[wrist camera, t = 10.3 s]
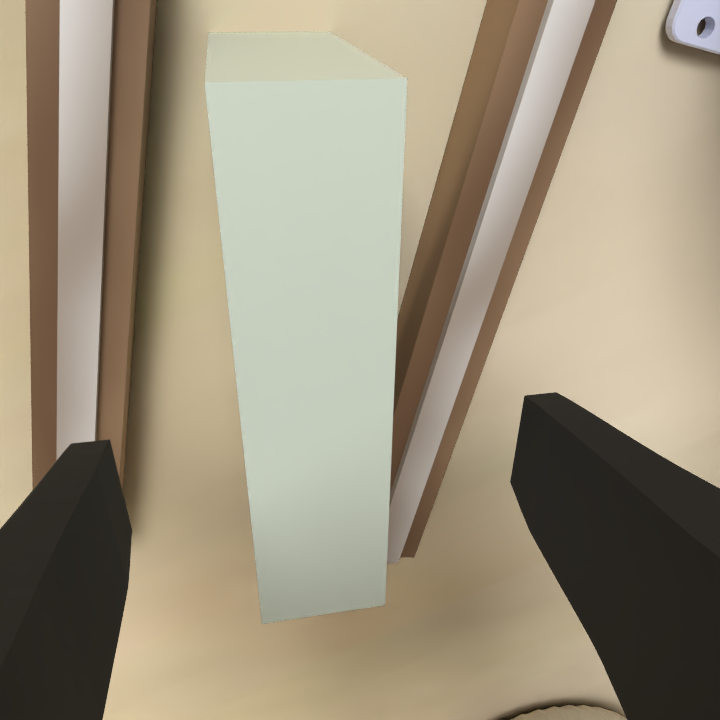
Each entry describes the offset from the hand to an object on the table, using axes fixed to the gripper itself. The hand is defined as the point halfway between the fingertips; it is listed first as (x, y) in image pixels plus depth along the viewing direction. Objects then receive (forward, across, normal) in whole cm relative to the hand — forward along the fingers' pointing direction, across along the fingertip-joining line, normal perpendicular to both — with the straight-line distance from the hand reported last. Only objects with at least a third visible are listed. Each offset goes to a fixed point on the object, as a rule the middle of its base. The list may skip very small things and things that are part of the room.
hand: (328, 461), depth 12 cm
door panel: (+10, 0, 0) cm, 10 cm away
